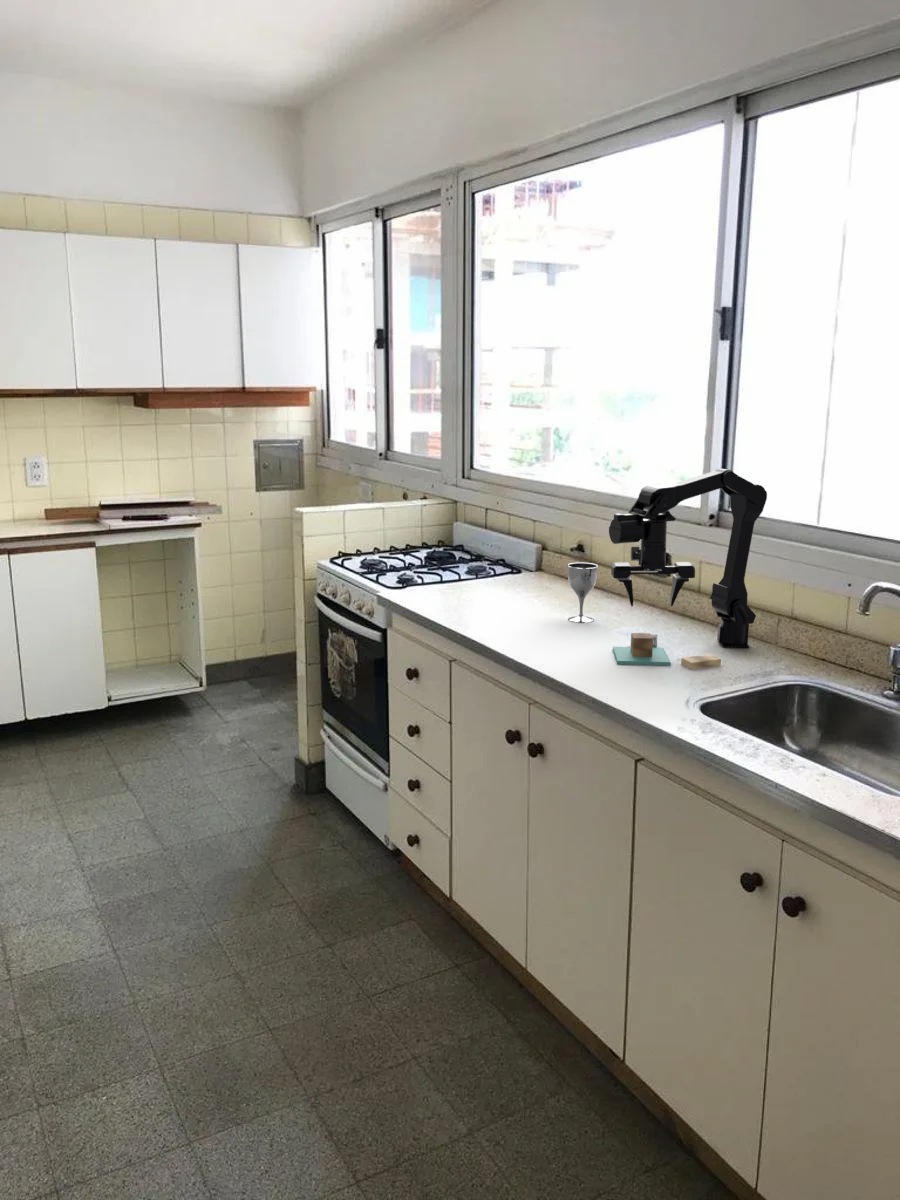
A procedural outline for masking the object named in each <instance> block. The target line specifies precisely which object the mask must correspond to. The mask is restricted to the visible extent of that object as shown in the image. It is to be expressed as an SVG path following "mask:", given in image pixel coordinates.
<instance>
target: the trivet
mask: <svg viewBox="0 0 900 1200" xmlns="http://www.w3.org/2000/svg"><path fill="white" fill-rule="evenodd" d="M630 650H631V646H612V652H613V655H614V657H615V661H616V663H617V665H632V666H634V665H639V666H640V665H641V666H671V665H672V662H671V660H670V657H669V656H668V654H667V652H666V650H665V648H664V647H657V648H655V647H653V650H652V657H632V654H631V651H630Z"/></svg>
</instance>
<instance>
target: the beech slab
mask: <svg viewBox="0 0 900 1200" xmlns="http://www.w3.org/2000/svg"><path fill="white" fill-rule="evenodd" d="M680 664H681V666H682V667H683V666H684V667H685V668H688V669H689V670H696V669H706V668H713V667H721V666H722V659H721V658H720V657H719V656H718V657H717V656H715V655H713V654H711V653H710V654H703V655H701V654H700V655H695V656H694V655H693V656H685V657H684V656H683V657H681V660H680Z"/></svg>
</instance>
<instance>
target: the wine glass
mask: <svg viewBox="0 0 900 1200" xmlns="http://www.w3.org/2000/svg"><path fill="white" fill-rule="evenodd" d="M598 569H599V567H598V564H596V563H591V562H570V563H568V564H567V578H568V579H567V580H568V584H569V587H570V589H571V590H572V591H574V593H575V595H576V596H577V598H578V600H579V601H578V602H579V615H576V616H571V617H568V618H567V621H569V622H571V623H577V624H589V623H592V622H594V621H595V619H594V618H593V617H590V616H585V615H584V614H583V613H584V612H583V609H584V603H585V600H586V597H587V595H588V594H589V593H590V592H591V591H592V590H593V588H595V585H596V583H597V578H598Z"/></svg>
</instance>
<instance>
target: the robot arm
mask: <svg viewBox="0 0 900 1200" xmlns="http://www.w3.org/2000/svg"><path fill="white" fill-rule="evenodd" d="M719 489H720V490H721V491H722V492H723V493H724V494H726V495H727V496H729V497H730V498H729V508H730V511H731V515H732V519H733V520H732V526H731V531H730V537H729V544H728V549H727V554H726V561H725V566H724V572H723V577H722V579H721V580H720V581H719V582H718V583H716V582H713V584H712V591H711V595H710V597H709V599H710V600H711V606H712V607H713V609H714V610H715V612H716V616H717V617H718V618H720V624H717V625H718V626H717V642H718V643H719V645H720V646H721V647H723V648H740V649H741V648H742V649H743V648H746V649H748V648H750V644H749V632H750V624H752V625H753V624H754V623H755V620H756V617H757V615H756V614H755V612H754V611H753V610H752V609H751V608H750V607H749V606H748V596H749V595H748V590H747V587H746V584H745V578H746V572H747V567H748V566H747V565H748V561H749V554H750V549H751V543H752V539H753V533H754V527H755V523H756V522H757V520H758V518H759V517H760V515H762V513H763V512H764V508H765V505H766V503H767V499H768V492H767V490H766V489H765V488H764V486H762V485H760V484H756V483H752V482H751V481H749V480H747V479H745V478H744V477H742V476H739V475H738V474H737V473H735V472H734V471H733V470H731V469H728V468H727V469H725V468H717V469H715V470H714V471H710V472H706V473H703V474H701V475H697V476H694V477H691V478H687V479H685V480H680V481H678V482H675V483H663V484H661V483H660V484H659V483H658V484H650V485H645V486H644V487H642V488H641V489H640V492H639V495H638V497H637V499H636V500H635V502H634V503H633V505H632V506H631V508H630V510H629V512H628V513H614V514H613V519H612V520H611V522H610V524H609V526H608V536H609V539H610V541H611V542H612V544H614V545H617V544H618V545H619V544H631V543H639V542H640V546H631V547H630V561H632V562H633V561H634V562H635V561H638V565H633V566H632V565H630V563H629V562H625V561H624V562H621V561H620V562H613V563H612V564H611V571H610V573H611V576H612V578H613V579H616V580H618V582H619V583H623V586H624V587H625V590H626V594H627V597H628V601H629V604H630V606H631V607H633V606H634V591H633V589H634V588H633V581H632V578H631V575H672V584H671V591H670V597H669V607H673V605H674V604H675V602H676V599H677V597H678V595H679V592H680V591H681V589H682V588H683V586H684V584H685V583H686V582H687V583H688V582H689V581H690V579H695V578H696V568H695V566H694V565H693V564H692V563H691V562H690V561H674V564H673V565H666V558H667V557H666V555H667V554H666V553H667V530H668V526H667V525H668V522H675V521H676V520H677V519H676V516H674V515H673V514H672V513H671V512H670V510H672V509H674V508H675V507H677V506H678V505H679V504H680V503H681V502H683V501H685V500H688V499H691V498H694V497H698V496H700V495H705V494H707V493H711V492H713V491H717V490H719Z"/></svg>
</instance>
